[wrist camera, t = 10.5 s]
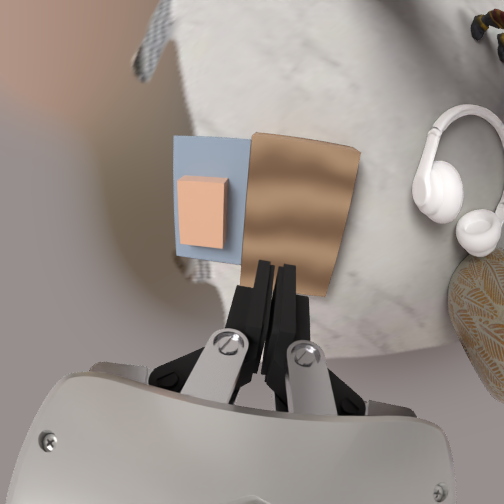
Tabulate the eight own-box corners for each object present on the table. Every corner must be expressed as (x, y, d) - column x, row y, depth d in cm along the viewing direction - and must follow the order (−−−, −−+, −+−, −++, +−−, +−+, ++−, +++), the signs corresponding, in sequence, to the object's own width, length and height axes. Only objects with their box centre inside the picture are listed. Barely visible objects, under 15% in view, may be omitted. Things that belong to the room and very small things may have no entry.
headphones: (467, 253, 34) (514, 157, 26) (493, 276, 27) (545, 168, 19) (389, 189, 32) (445, 76, 24) (416, 206, 25) (479, 70, 17)
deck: (256, 132, 31) (252, 135, 27) (352, 147, 30) (360, 152, 27) (244, 269, 41) (239, 285, 38) (322, 280, 40) (325, 296, 37)
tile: (224, 183, 32) (228, 178, 34) (177, 180, 32) (183, 175, 34) (222, 248, 36) (226, 240, 39) (180, 243, 37) (186, 235, 39)
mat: (174, 135, 32) (173, 136, 32) (251, 139, 31) (250, 140, 31) (177, 254, 41) (176, 255, 41) (241, 263, 41) (240, 264, 40)
